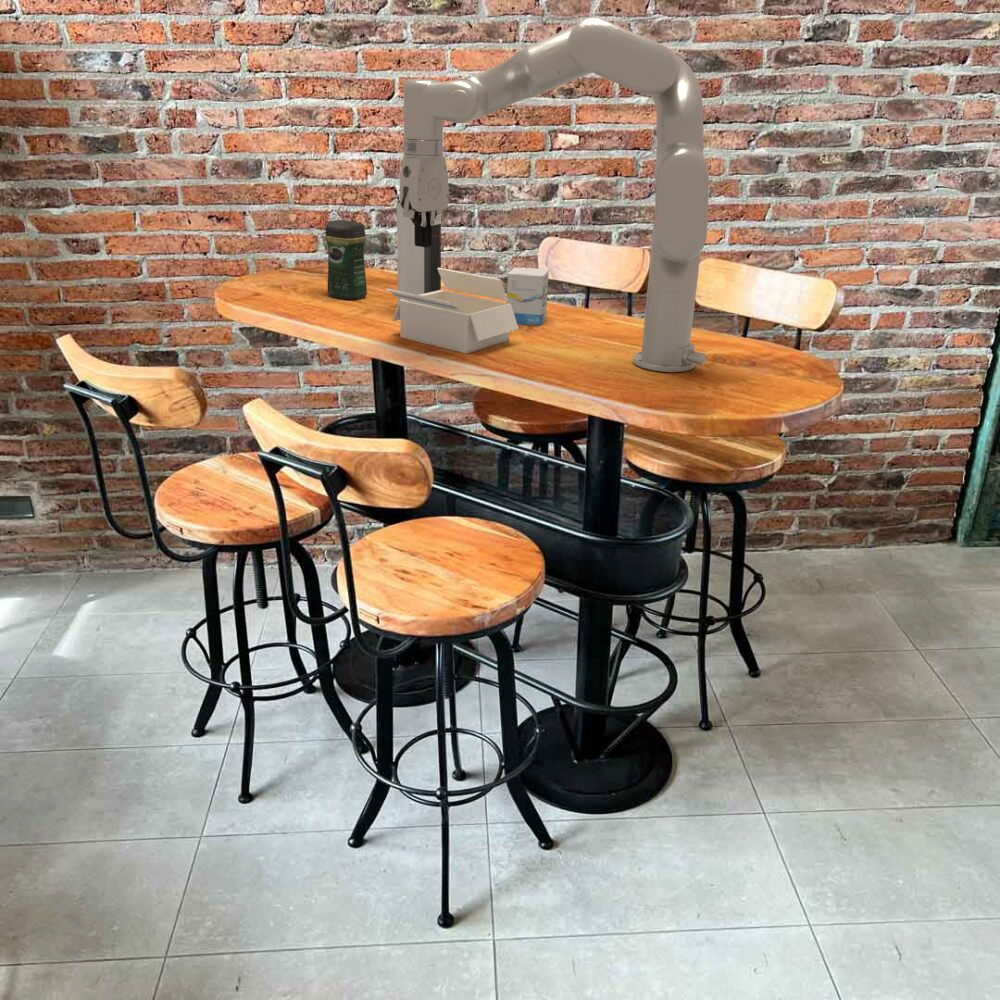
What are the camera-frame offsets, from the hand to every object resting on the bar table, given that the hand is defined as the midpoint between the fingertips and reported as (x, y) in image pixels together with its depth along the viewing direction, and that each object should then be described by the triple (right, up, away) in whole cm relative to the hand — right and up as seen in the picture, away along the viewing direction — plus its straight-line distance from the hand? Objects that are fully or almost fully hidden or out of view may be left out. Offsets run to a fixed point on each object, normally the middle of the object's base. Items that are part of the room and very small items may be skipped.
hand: (423, 245), depth 195 cm
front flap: (+2, -10, +8) cm, 13 cm away
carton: (+6, -16, +16) cm, 23 cm away
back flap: (+10, -6, +18) cm, 22 cm away
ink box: (+21, -9, +34) cm, 41 cm away
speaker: (-4, -6, +38) cm, 39 cm away
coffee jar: (-23, 0, +51) cm, 56 cm away
